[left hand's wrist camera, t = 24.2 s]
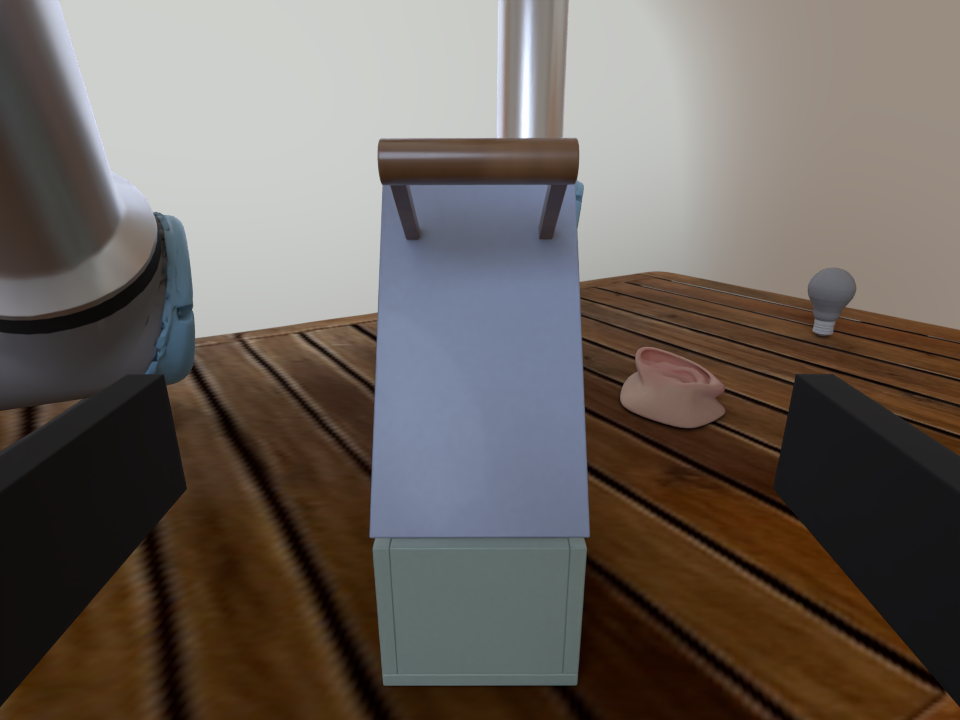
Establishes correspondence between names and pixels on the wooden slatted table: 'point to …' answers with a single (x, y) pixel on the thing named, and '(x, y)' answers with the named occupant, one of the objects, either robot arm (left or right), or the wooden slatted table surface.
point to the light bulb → (830, 297)
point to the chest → (479, 610)
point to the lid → (479, 342)
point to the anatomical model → (672, 390)
